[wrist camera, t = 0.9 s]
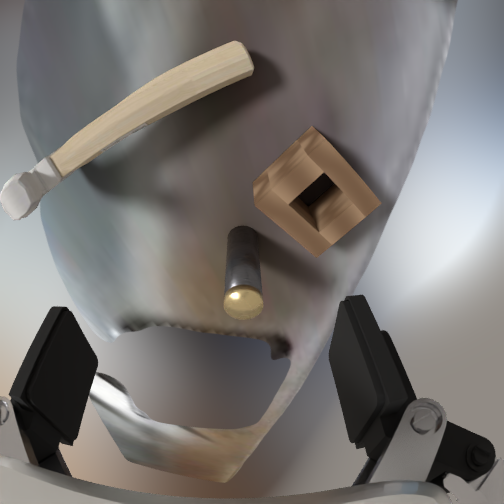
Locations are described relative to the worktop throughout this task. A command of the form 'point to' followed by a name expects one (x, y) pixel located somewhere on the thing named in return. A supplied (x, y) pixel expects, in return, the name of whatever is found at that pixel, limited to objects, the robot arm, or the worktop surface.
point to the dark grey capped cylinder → (243, 274)
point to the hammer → (128, 121)
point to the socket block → (326, 206)
